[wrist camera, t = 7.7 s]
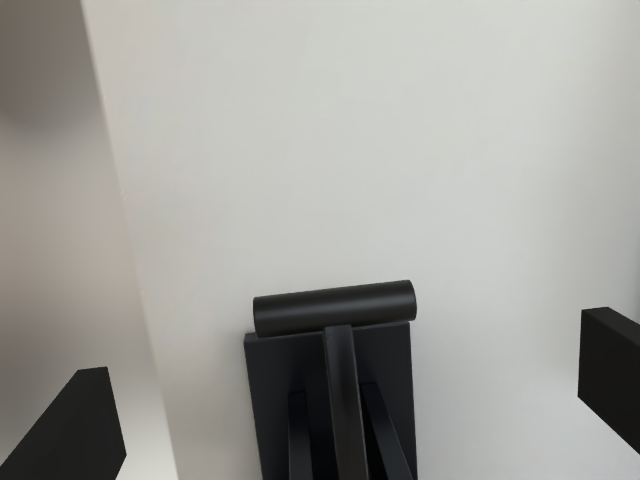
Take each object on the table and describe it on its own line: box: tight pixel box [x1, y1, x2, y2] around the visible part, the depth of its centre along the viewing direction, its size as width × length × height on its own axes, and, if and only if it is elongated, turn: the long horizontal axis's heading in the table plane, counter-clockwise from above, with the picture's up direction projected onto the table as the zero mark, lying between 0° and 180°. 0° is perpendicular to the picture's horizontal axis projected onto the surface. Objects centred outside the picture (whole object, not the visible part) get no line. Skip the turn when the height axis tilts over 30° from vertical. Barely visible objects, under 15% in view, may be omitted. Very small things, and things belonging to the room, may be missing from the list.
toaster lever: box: [253, 280, 417, 480], centre depth 18 cm, size 12×6×2 cm, turn 5°
